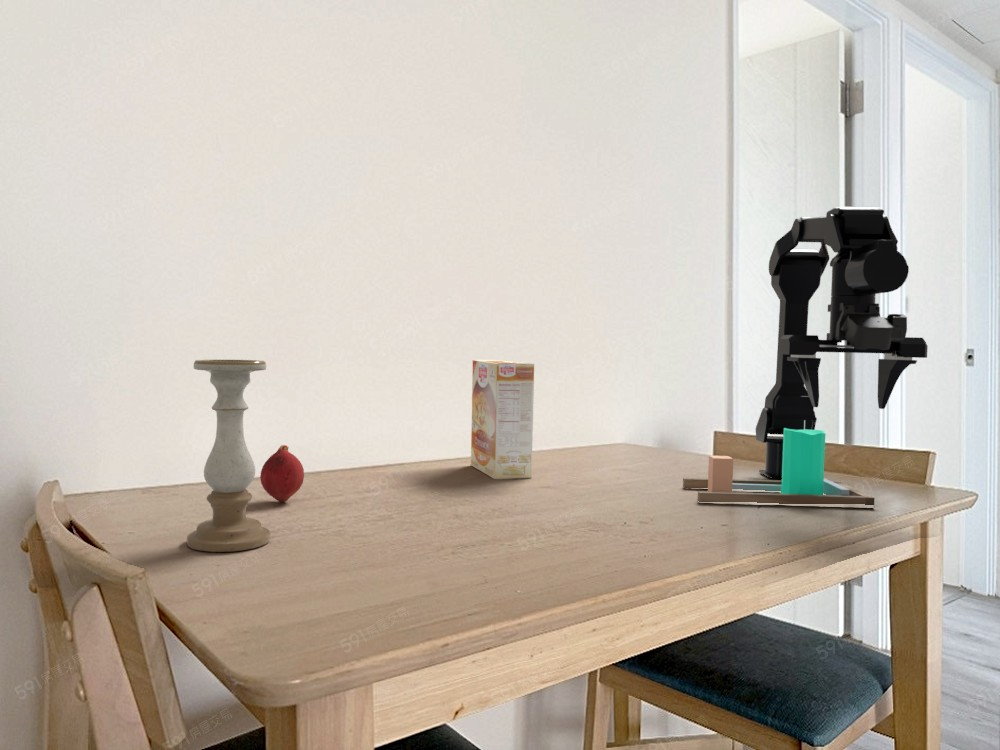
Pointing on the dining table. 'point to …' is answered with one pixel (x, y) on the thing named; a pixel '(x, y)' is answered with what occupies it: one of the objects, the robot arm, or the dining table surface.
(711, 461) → the frame
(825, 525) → the dining table surface
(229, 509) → the candle holder
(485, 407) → the coffeecake box
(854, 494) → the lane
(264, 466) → the onion
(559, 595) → the dining table surface
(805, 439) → the candle
